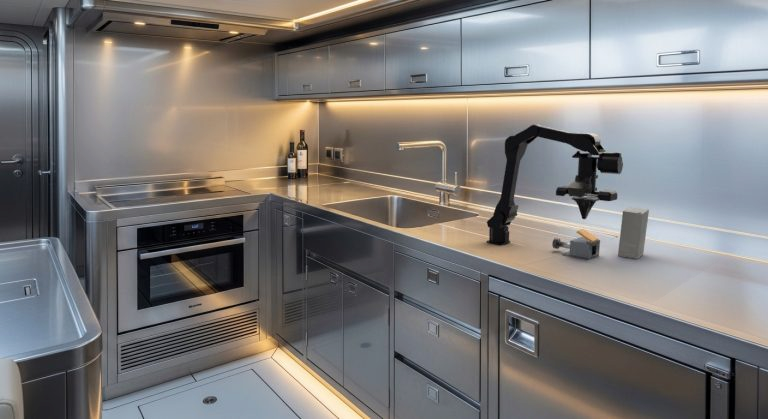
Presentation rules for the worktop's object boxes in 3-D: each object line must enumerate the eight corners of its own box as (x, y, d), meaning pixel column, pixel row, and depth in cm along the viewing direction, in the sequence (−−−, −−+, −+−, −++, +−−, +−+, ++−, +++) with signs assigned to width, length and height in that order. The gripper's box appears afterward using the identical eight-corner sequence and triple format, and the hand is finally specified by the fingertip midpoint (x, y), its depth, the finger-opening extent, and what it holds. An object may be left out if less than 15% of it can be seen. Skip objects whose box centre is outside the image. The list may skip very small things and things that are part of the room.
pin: (552, 249, 185) (552, 238, 184) (557, 247, 187) (557, 237, 187) (583, 255, 177) (584, 244, 176) (588, 253, 179) (589, 242, 179)
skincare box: (623, 251, 185) (627, 206, 182) (646, 254, 180) (650, 208, 177) (616, 256, 178) (620, 209, 175) (639, 259, 174) (643, 212, 171)
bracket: (562, 255, 180) (563, 236, 179) (573, 250, 185) (574, 233, 184) (588, 260, 174) (589, 241, 173) (599, 255, 179) (600, 237, 178)
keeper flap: (576, 232, 177) (577, 230, 177) (582, 230, 180) (583, 228, 180) (591, 242, 174) (592, 240, 174) (597, 240, 177) (598, 238, 177)
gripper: (548, 171, 176) (546, 218, 178) (604, 176, 162) (600, 226, 165) (565, 169, 183) (562, 214, 186) (619, 173, 170) (616, 221, 173)
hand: (584, 219), depth 177 cm, fingers closed
